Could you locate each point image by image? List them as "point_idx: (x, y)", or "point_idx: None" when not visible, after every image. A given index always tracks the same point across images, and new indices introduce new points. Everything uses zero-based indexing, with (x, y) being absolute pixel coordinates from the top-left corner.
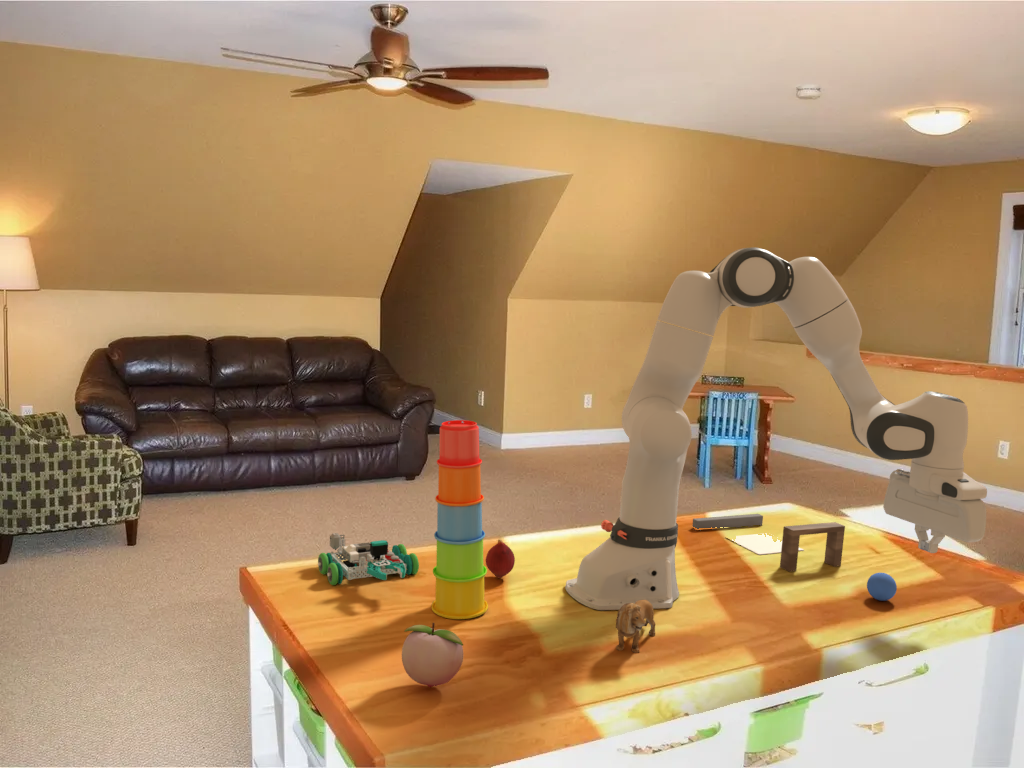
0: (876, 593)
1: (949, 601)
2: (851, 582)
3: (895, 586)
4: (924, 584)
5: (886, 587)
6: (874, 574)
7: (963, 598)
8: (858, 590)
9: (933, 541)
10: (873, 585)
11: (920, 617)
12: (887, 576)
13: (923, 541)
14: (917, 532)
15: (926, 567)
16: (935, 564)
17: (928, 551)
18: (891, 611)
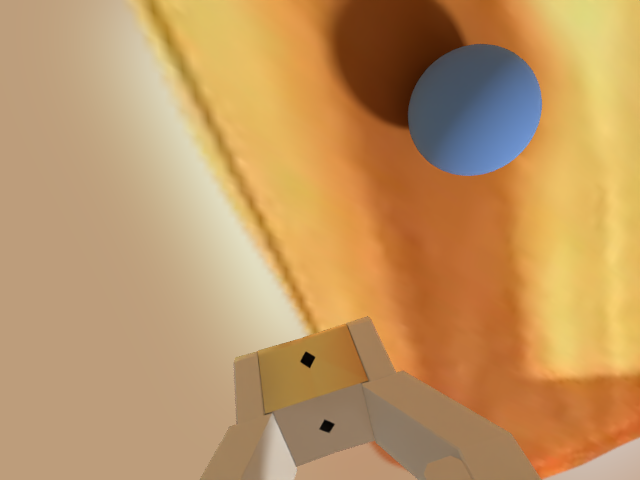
0: (437, 60)
1: (387, 322)
2: (612, 83)
3: (429, 155)
4: (509, 316)
5: (428, 102)
6: (526, 90)
7: (400, 364)
8: (543, 62)
9: (207, 467)
10: (469, 53)
11: (266, 161)
12: (476, 136)
13: (337, 389)
14: (450, 424)
15: (594, 370)
16: (598, 394)
17: (260, 350)
18: (330, 72)
